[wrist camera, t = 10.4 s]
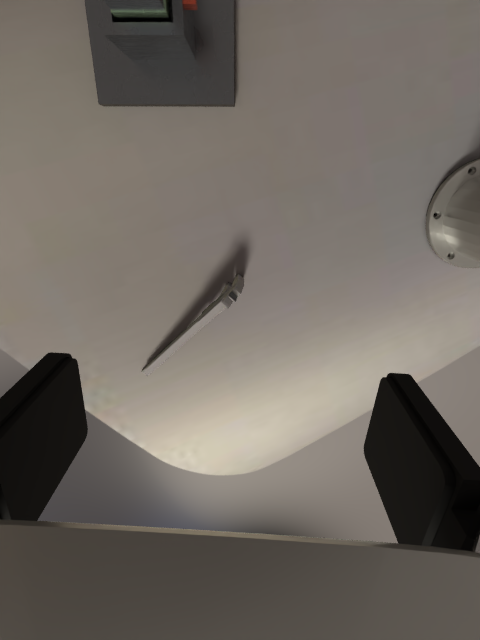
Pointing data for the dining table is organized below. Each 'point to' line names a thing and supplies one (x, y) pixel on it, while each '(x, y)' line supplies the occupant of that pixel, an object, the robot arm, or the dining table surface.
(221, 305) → the caliper
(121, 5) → the block
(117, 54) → the base
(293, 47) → the dining table surface
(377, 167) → the dining table surface
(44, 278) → the dining table surface
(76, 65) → the dining table surface
